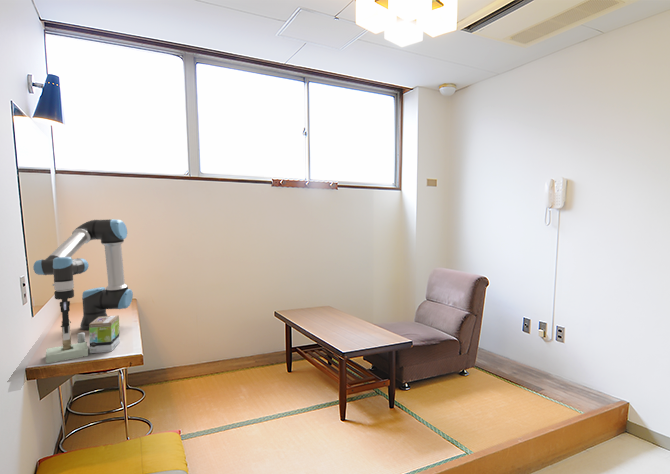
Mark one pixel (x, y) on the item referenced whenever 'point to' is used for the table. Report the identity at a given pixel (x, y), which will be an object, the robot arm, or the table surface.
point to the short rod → (81, 337)
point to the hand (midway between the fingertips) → (66, 338)
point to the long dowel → (66, 341)
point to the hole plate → (66, 352)
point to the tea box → (104, 334)
